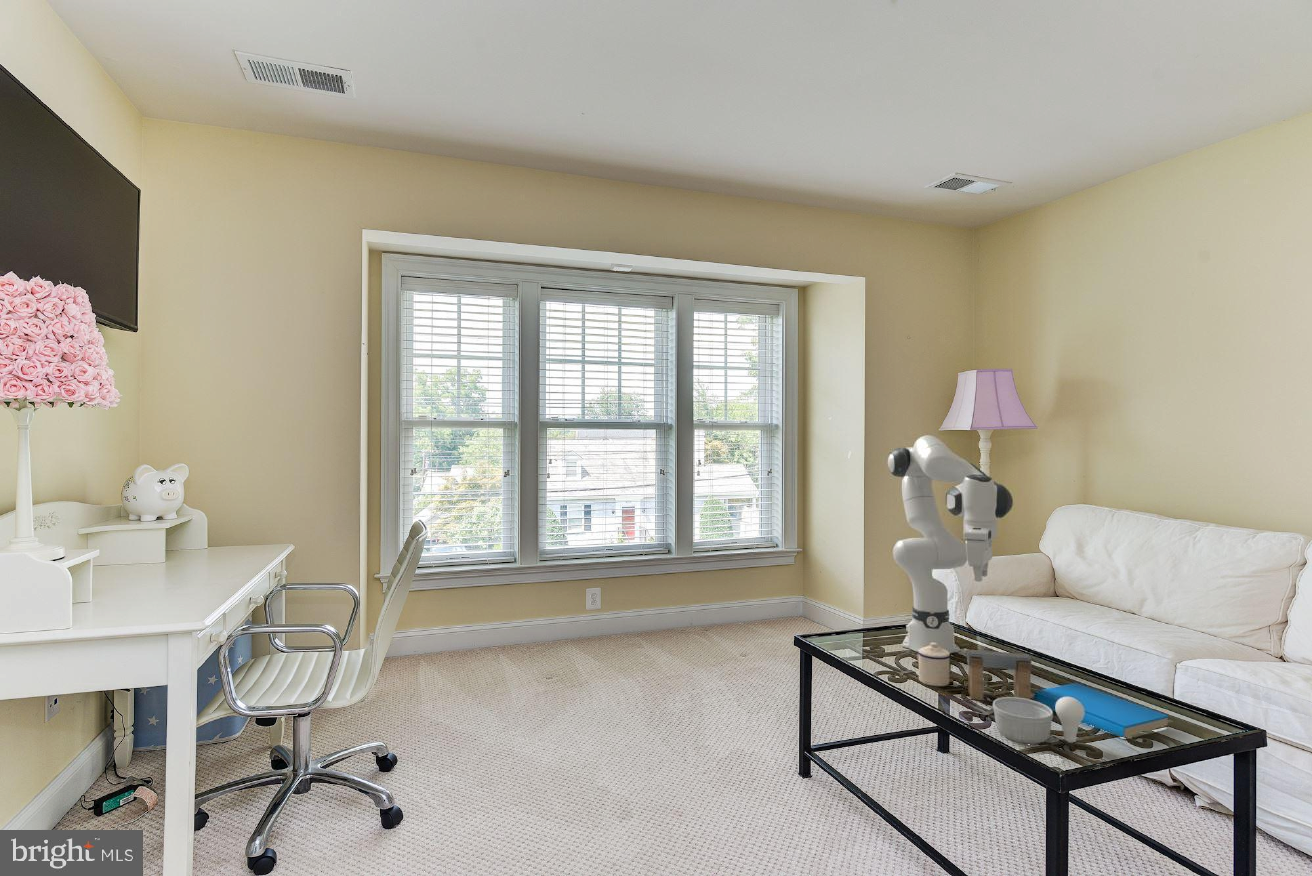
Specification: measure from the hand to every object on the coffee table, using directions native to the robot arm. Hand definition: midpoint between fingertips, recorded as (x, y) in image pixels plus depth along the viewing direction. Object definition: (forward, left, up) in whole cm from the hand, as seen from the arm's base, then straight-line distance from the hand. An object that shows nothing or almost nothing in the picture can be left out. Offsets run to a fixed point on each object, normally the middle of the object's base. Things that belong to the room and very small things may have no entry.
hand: (981, 578), depth 195 cm
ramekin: (+26, +5, -34) cm, 43 cm away
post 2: (+2, +10, -33) cm, 35 cm away
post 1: (+2, -2, -33) cm, 33 cm away
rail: (+2, +4, -24) cm, 25 cm away
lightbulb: (+28, +15, -34) cm, 46 cm away
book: (+8, +27, -34) cm, 44 cm away
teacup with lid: (-8, -13, -34) cm, 37 cm away
